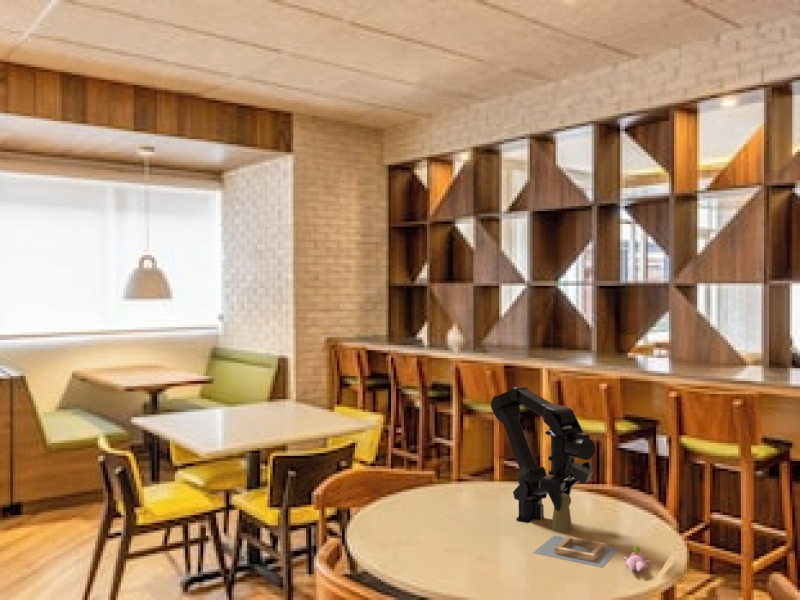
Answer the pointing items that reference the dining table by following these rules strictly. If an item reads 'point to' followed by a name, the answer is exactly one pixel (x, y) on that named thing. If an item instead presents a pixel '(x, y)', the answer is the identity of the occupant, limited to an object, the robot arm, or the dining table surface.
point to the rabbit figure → (636, 560)
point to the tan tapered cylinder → (562, 516)
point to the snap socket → (592, 556)
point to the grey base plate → (601, 561)
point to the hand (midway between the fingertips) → (561, 507)
